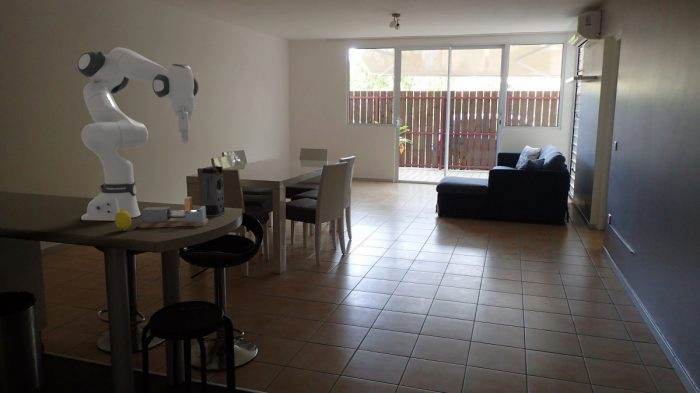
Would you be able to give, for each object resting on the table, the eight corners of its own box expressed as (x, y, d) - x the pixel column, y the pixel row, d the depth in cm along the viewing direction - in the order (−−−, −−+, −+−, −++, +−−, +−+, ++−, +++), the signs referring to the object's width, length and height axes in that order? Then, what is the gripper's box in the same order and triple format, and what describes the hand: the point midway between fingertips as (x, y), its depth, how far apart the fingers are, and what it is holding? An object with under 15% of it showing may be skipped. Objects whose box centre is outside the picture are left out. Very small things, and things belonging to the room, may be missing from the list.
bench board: (139, 227, 202) (139, 223, 202) (146, 222, 210) (145, 219, 210) (203, 226, 204) (203, 222, 203) (208, 221, 212) (207, 218, 211)
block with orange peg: (158, 219, 204) (157, 199, 203) (161, 217, 208) (160, 197, 207) (196, 218, 205) (194, 198, 204) (198, 216, 209) (197, 196, 208)
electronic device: (216, 217, 220) (214, 168, 217) (203, 216, 221) (200, 168, 218) (226, 212, 229) (223, 166, 226) (213, 212, 230) (210, 166, 227)
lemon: (118, 229, 200) (117, 208, 198) (134, 228, 200) (132, 208, 199) (113, 232, 194) (111, 211, 193) (129, 232, 195) (127, 210, 193)
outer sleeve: (143, 222, 204) (142, 209, 203) (147, 219, 208) (146, 207, 208) (167, 222, 204) (166, 209, 203) (170, 219, 209) (170, 206, 208)
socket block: (185, 222, 204) (184, 209, 203) (189, 218, 210) (188, 206, 209) (202, 221, 204) (202, 209, 204) (206, 218, 210) (205, 206, 209)
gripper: (191, 106, 198) (193, 144, 201) (192, 106, 218) (194, 140, 220) (173, 106, 197) (175, 144, 199) (176, 106, 216) (178, 141, 218)
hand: (185, 142), depth 210 cm, fingers open, 8 cm apart
